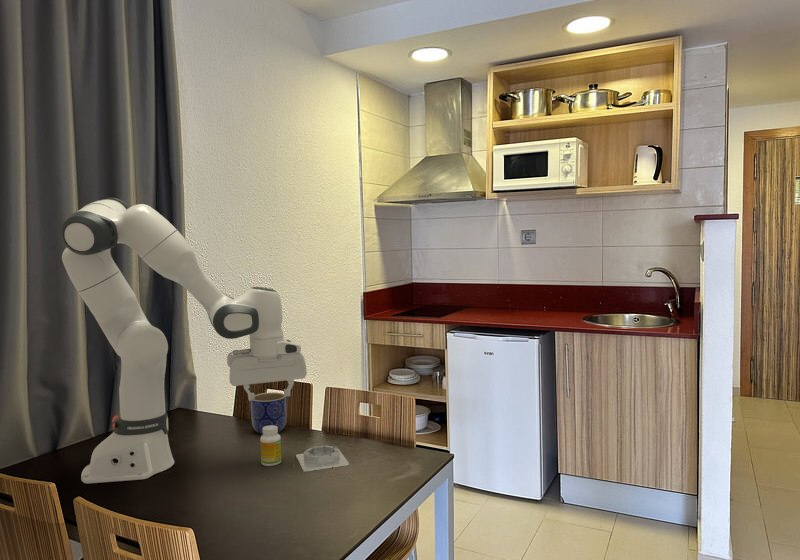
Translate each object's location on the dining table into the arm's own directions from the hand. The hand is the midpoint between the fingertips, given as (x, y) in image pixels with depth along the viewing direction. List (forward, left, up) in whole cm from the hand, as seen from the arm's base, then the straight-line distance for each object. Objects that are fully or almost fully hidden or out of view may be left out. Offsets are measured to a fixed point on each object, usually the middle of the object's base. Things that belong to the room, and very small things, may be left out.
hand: (269, 398), depth 162 cm
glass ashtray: (+13, -4, -18) cm, 22 cm away
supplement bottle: (0, 0, -18) cm, 18 cm away
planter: (+3, +28, -18) cm, 33 cm away
